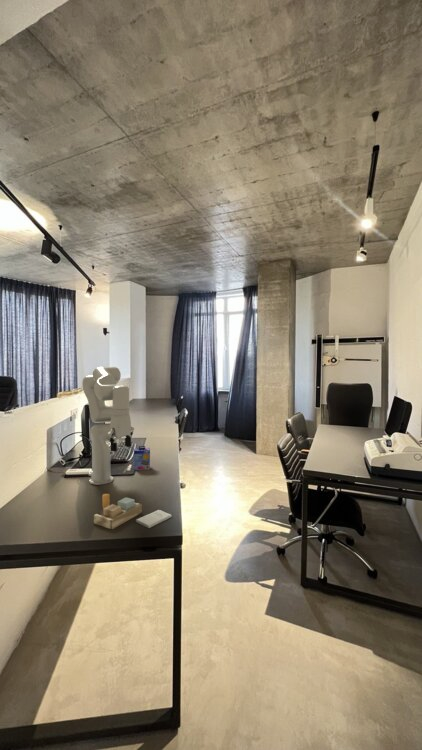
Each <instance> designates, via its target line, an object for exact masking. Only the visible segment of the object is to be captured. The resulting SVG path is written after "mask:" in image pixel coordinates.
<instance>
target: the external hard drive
mask: <svg viewBox="0 0 422 750" xmlns="http://www.w3.org/2000/svg"><path fill="white" fill-rule="evenodd" d="M171 518H172V514H171V513H168V512H165V511H164V510H161V509H157V510H155V511H153V512H151V513H149V514H146V515H144V516H142V517H141V516H140V517H139V518H136V519H135V522H136V524H140V525H141V526H143V527H146V528H148V529H150V528H152V527H154V526H156V525H159V524H161V523H162V522H165V521H166V520H169V519H171Z"/></svg>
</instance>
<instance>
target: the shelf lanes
mask: <svg viewBox="0 0 422 750" xmlns="http://www.w3.org/2000/svg"><path fill="white" fill-rule="evenodd" d="M142 512H143V504H142V503H138V502H135V507H133V508H131V509H129V510H127V511H125V510H121V514H120V515H118V516H117V517H115V518H113V519H112V518H108V517H105V516H103V515H102V514H101V515H100V514H98V513H95V514H94V515H93V524H95V525H98V526H101V527H103V528H106V529H110V530H114V529H116V528H117V527H119V526H121V525H122V524H125V523H126V522H128V521H129V520H131V519H133V518H135V517H136V516H138V515H140V514H141V513H142Z"/></svg>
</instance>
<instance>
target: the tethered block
mask: <svg viewBox="0 0 422 750" xmlns="http://www.w3.org/2000/svg"><path fill="white" fill-rule="evenodd" d="M101 502H102V510H103V509H104V508H106V507H108V506H110V505H111V504H110V493H103V494H102V501H101ZM135 503H136V502H135V499H133V498H130V497H128V496H127V497H124V498H122V499H120V500H118V501H117V506H121V510H125V511H127V510H129V509H131V508H133V507H135Z"/></svg>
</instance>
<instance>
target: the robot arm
mask: <svg viewBox="0 0 422 750" xmlns="http://www.w3.org/2000/svg"><path fill="white" fill-rule="evenodd" d="M121 374H122V373H121V371H120V369H119V368H118V367H117V366H98V367H96V368H94V369H93V371H92V374H91V375H87V376H84V378H83V379H82V382H81V383H82V385H81V386H82V391H83V394H84V395H85V397H86V399H87V403H88V408H89V414H90V415H89V417H90V420H91V422H92V423H95V424H94V425H93V426H92V427H91V428H90V429H89V431H90V432H89V435H90V440H91V441H90V442H91V453H92V454H91V464H92V466H91V467H92V468H91V471H90V472H89V473H88V476H90V479H89V481H88V482H89V484H91V485H96V486H97V485H99V486H100V485H106V484H109V483H111V482H113V481H114V477H113V476H112V475H111V452H117V451H118V440H120V439H122V438H123V437H125V438H124V446H125V447H128V448H129V447H131V446H132V438H133V434H134V430H135V428H134V427H133V426H132V424H131V423H132V422H131V415H130V387H129V386H127V385H124V384H118V383H119V382H120V380H121V378H122V377H121ZM105 401H112V404H109V405H106V404H105ZM108 441H109V443H110V446H109V444H107V442H108Z"/></svg>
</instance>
